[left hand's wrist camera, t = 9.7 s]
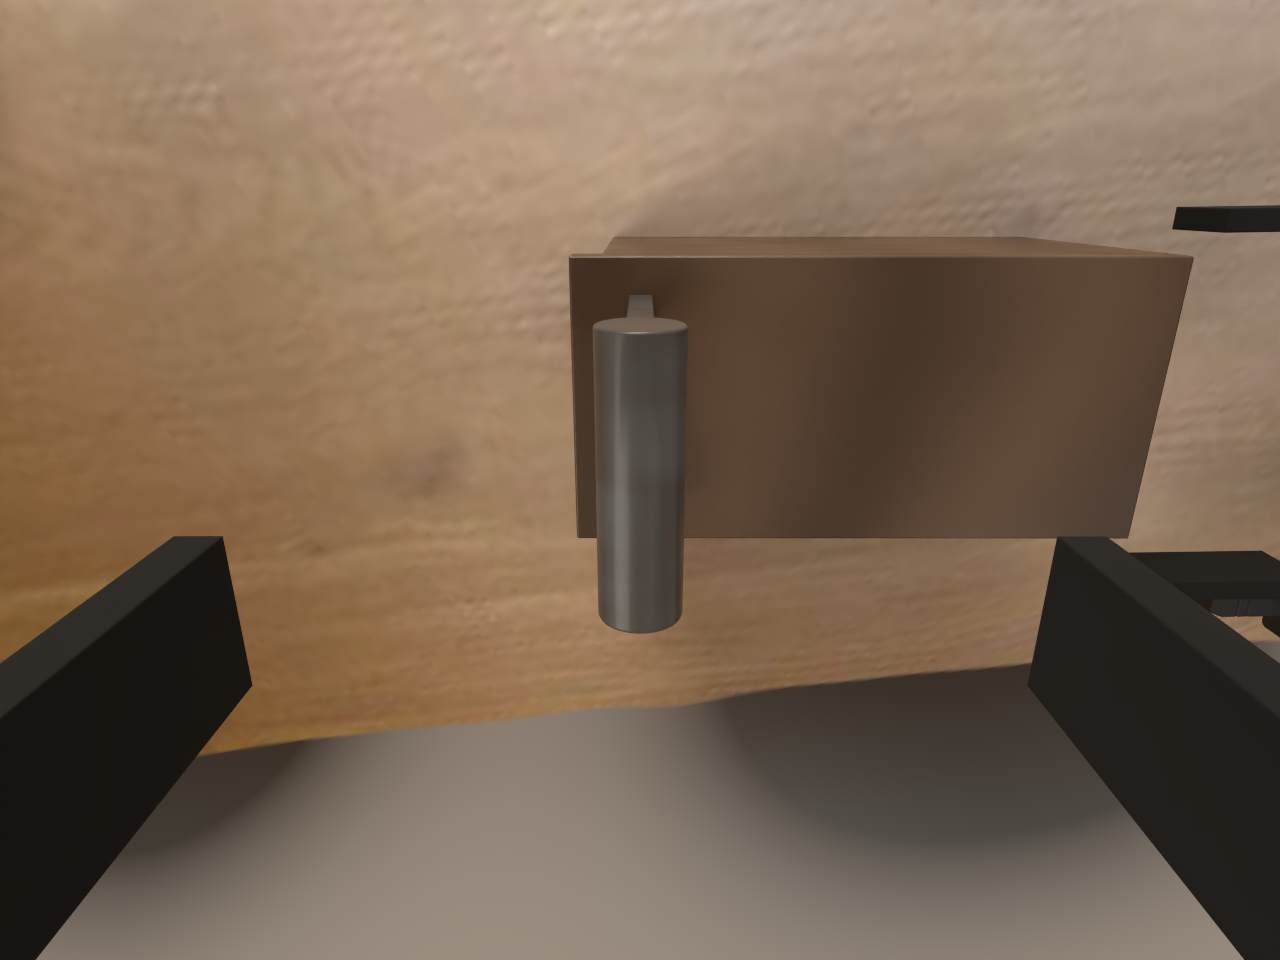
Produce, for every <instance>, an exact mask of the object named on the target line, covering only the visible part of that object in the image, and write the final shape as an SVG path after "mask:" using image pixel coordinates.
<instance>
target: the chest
mask: <svg viewBox="0 0 1280 960" xmlns="http://www.w3.org/2000/svg"><path fill="white" fill-rule="evenodd" d="M603 254H1168V253H1159V252H1150V251H1141V250H1132V249H1123V248H1114V247H1105V246H1096V245H1087V244H1078V243H1069V242H1060V241H1051V240H1042V239H1033V238H1024V237H614V238H613V239H612V240H611V242H610V244H609V245H608V247H607V248H606V250H605V251H604V253H603Z"/></svg>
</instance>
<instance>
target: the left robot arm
mask: <svg viewBox="0 0 1280 960" xmlns="http://www.w3.org/2000/svg"><path fill="white" fill-rule="evenodd" d="M251 686H252V681H251V676H250V671H249V666H248V661H247V656H246V651H245V646H244V641H243V636H242V631H241V626H240V621H239V616H238V611H237V606H236V601H235V596H234V591H233V586H232V581H231V576H230V571H229V566H228V561H227V556H226V551H225V546H224V541H223V536H174V537H172V538H171V539H170V540H168V541H167V542H166V543H164V544H163V545H161V546H160V547H159V548H157V549H156V550H155V551H153V552H152V553H151V554H149V555H148V556H146V557H145V558H144V559H142V560H141V561H140V562H138V563H137V564H136V565H134V566H133V567H131V568H130V569H129V570H127V571H126V572H125V573H123V574H122V575H121V576H119V577H118V578H116V579H115V580H114V581H112V582H111V583H110V584H108V585H107V586H106V587H104V588H103V589H101V590H100V591H99V592H97V593H96V594H95V595H93V596H92V597H90V598H89V599H88V600H86V601H85V602H84V603H82V604H81V605H80V606H78V607H77V608H75V609H74V610H73V611H71V612H70V613H69V614H67V615H66V616H65V617H63V618H62V619H60V620H59V621H58V622H56V623H55V624H54V625H52V626H51V627H50V628H48V629H47V630H45V631H44V632H43V633H41V634H40V635H39V636H37V637H36V638H35V639H33V640H32V641H30V642H29V643H28V644H26V645H25V646H24V647H22V648H21V649H20V650H18V651H17V652H15V653H14V654H13V655H11V656H10V657H9V658H7V659H6V660H5V661H3V662H2V663H0V960H36V959H37V957H38V956H39V955H40V953H41V952H42V951H43V950H44V948H45V947H46V946H47V945H48V943H49V942H50V941H51V940H52V938H53V937H54V936H55V934H56V933H57V932H58V931H59V929H60V928H61V927H62V926H63V924H64V923H65V922H66V921H67V919H68V918H69V917H70V916H71V914H72V913H73V912H74V910H75V909H76V908H77V907H78V905H79V904H80V903H81V902H82V900H83V899H84V898H85V896H86V895H87V894H88V893H89V891H90V890H91V889H92V888H93V886H94V885H95V884H96V883H97V881H98V880H99V879H100V878H101V876H102V875H103V874H104V873H105V871H106V870H107V869H108V867H109V866H110V865H111V864H112V862H113V861H114V860H115V859H116V857H117V856H118V855H119V853H120V852H121V851H122V850H123V848H124V847H125V846H126V845H127V843H128V842H129V841H130V840H131V838H132V837H133V836H134V835H135V833H136V832H137V831H138V829H139V828H140V827H141V826H142V824H143V823H144V822H145V821H146V819H147V818H148V817H149V816H150V814H151V813H152V812H153V811H154V809H155V808H156V807H157V805H158V804H159V803H160V802H161V800H162V799H163V798H164V797H165V795H166V794H167V793H168V791H169V790H170V789H171V788H172V786H173V785H174V784H175V783H176V781H177V780H178V779H179V778H180V776H181V775H182V774H183V772H184V771H185V770H186V769H187V767H188V766H189V765H190V764H191V762H192V761H193V760H194V759H195V757H196V756H197V755H198V754H199V752H200V751H201V750H202V748H203V747H204V746H205V745H206V743H207V742H208V741H209V740H210V738H211V737H212V736H213V735H214V733H215V732H216V731H217V730H218V728H219V727H220V726H221V724H222V723H223V722H224V721H225V719H226V718H227V717H228V716H229V714H230V713H231V712H232V711H233V709H234V708H235V707H236V705H237V704H238V703H239V702H240V700H241V699H242V698H243V697H244V695H245V694H246V693H247V692H248V690H249V689H250V688H251ZM1028 686H1029V688H1030V689H1031V690H1032V692H1033V693H1034V694H1035V695H1036V697H1037V698H1038V699H1039V700H1040V702H1041V703H1042V704H1043V705H1044V707H1045V708H1046V709H1047V711H1048V712H1049V713H1050V714H1051V716H1052V717H1053V718H1054V719H1055V721H1056V722H1057V723H1058V724H1059V726H1060V727H1061V728H1062V729H1063V731H1064V732H1065V733H1066V735H1067V736H1068V737H1069V738H1070V740H1071V741H1072V742H1073V743H1074V745H1075V746H1076V747H1077V748H1078V750H1079V751H1080V752H1081V754H1082V755H1083V756H1084V757H1085V759H1086V760H1087V761H1088V762H1089V764H1090V765H1091V766H1092V767H1093V769H1094V770H1095V771H1096V773H1097V774H1098V775H1099V776H1100V778H1101V779H1102V780H1103V781H1104V783H1105V784H1106V785H1107V786H1108V788H1109V789H1110V790H1111V791H1112V793H1113V794H1114V795H1115V797H1116V798H1117V799H1118V800H1119V802H1120V803H1121V804H1122V805H1123V807H1124V808H1125V809H1126V811H1127V812H1128V813H1129V814H1130V816H1131V817H1132V818H1133V819H1134V821H1135V822H1136V823H1137V824H1138V826H1139V827H1140V828H1141V829H1142V831H1143V832H1144V833H1145V835H1146V836H1147V837H1148V838H1149V840H1150V841H1151V842H1152V843H1153V845H1154V846H1155V847H1156V848H1157V850H1158V851H1159V852H1160V853H1161V855H1162V856H1163V857H1164V859H1165V860H1166V861H1167V862H1168V864H1169V865H1170V866H1171V867H1172V869H1173V870H1174V871H1175V873H1176V874H1177V875H1178V876H1179V878H1180V879H1181V880H1182V881H1183V883H1184V884H1185V885H1186V886H1187V888H1188V889H1189V890H1190V891H1191V893H1192V894H1193V895H1194V897H1195V898H1196V899H1197V900H1198V902H1199V903H1200V904H1201V905H1202V907H1203V908H1204V909H1205V910H1206V912H1207V913H1208V914H1209V916H1210V917H1211V918H1212V919H1213V921H1214V922H1215V923H1216V924H1217V926H1218V927H1219V928H1220V929H1221V931H1222V932H1223V933H1224V934H1225V936H1226V937H1227V938H1228V940H1229V941H1230V942H1231V943H1232V945H1233V946H1234V947H1235V948H1236V950H1237V951H1238V952H1239V953H1240V955H1241V956H1242V957H1243V959H1244V960H1280V663H1278V662H1277V661H1275V660H1274V659H1273V658H1271V657H1270V656H1269V655H1267V654H1266V653H1264V652H1263V651H1262V650H1260V649H1259V648H1258V647H1256V646H1255V645H1254V644H1252V643H1251V642H1250V641H1248V640H1247V639H1245V638H1244V637H1243V636H1241V635H1240V634H1239V633H1237V632H1236V631H1235V630H1233V629H1232V628H1230V627H1229V626H1228V625H1226V624H1225V623H1224V622H1222V621H1221V620H1220V619H1218V618H1217V617H1215V616H1214V615H1213V614H1211V613H1210V612H1209V611H1207V610H1206V609H1205V608H1203V607H1202V606H1200V605H1199V604H1198V603H1196V602H1195V601H1194V600H1192V599H1191V598H1190V597H1188V596H1187V595H1185V594H1184V593H1183V592H1181V591H1180V590H1179V589H1177V588H1176V587H1174V586H1173V585H1172V584H1170V583H1169V582H1168V581H1166V580H1165V579H1164V578H1162V577H1161V576H1159V575H1158V574H1157V573H1155V572H1154V571H1153V570H1151V569H1150V568H1149V567H1147V566H1146V565H1144V564H1143V563H1142V562H1140V561H1139V560H1138V559H1136V558H1135V557H1134V556H1132V555H1131V554H1129V553H1128V552H1127V551H1125V550H1124V549H1123V548H1121V547H1120V546H1119V545H1117V544H1116V543H1114V542H1113V541H1112V540H1110V539H1109V538H1108V537H1106V536H1057V541H1056V546H1055V551H1054V556H1053V561H1052V566H1051V571H1050V576H1049V581H1048V586H1047V591H1046V596H1045V601H1044V606H1043V611H1042V616H1041V621H1040V626H1039V631H1038V636H1037V641H1036V646H1035V651H1034V656H1033V661H1032V666H1031V671H1030V676H1029V681H1028Z"/></svg>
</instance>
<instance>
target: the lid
mask: <svg viewBox="0 0 1280 960" xmlns="http://www.w3.org/2000/svg"><path fill="white" fill-rule="evenodd" d="M1192 263H1193V257H1192V256H1186V255H1177V254H572V255H571V256H570V257H569V282H570V316H571V349H572V382H573V415H574V449H575V482H576V515H577V537H578V538H597V561H598V610H599V616H600V617H601V619H602V621H603V622H604V623H605V624H607V625H608V626H610V627H612V628H614V629H616V630H619V631H623V632H628V633H653V632H658V631H662V630H664V629H667V628H669V627H671V626H673V625H674V624H675V623H677V621H678V620H679V619H680V617H681V615H682V598H683V550H684V538H1057V536H1106V537H1108V538H1128V536H1129V532H1130V527H1131V523H1132V519H1133V515H1134V510H1135V506H1136V502H1137V497H1138V493H1139V489H1140V485H1141V480H1142V476H1143V472H1144V468H1145V463H1146V459H1147V455H1148V450H1149V446H1150V442H1151V438H1152V433H1153V429H1154V425H1155V421H1156V416H1157V412H1158V408H1159V404H1160V399H1161V395H1162V391H1163V386H1164V382H1165V378H1166V374H1167V369H1168V365H1169V361H1170V357H1171V352H1172V348H1173V344H1174V340H1175V335H1176V331H1177V327H1178V322H1179V318H1180V314H1181V310H1182V305H1183V301H1184V297H1185V293H1186V288H1187V284H1188V280H1189V275H1190V271H1191V267H1192Z"/></svg>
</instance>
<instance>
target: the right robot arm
mask: <svg viewBox="0 0 1280 960" xmlns="http://www.w3.org/2000/svg"><path fill="white" fill-rule="evenodd" d="M1172 229H1177V230H1192V231H1208V232H1223V233H1233V232H1280V205H1275V206H1215V207H1177V209H1176V214H1175V218H1174V223H1173V228H1172ZM1129 554H1131V555H1132V556H1134V557H1135V558H1136V559H1138V560H1139V561H1140V562H1142V563H1143V564H1144V565H1146V566H1147V567H1149V568H1150V569H1151V570H1153V571H1154V572H1155V573H1157V574H1158V575H1159V576H1161V577H1162V578H1164V579H1165V580H1166V581H1168V582H1169V583H1170V584H1172V585H1173V586H1174V587H1176V588H1177V589H1179V590H1180V591H1181V592H1183V593H1184V594H1185V595H1187V596H1188V597H1190V598H1191V599H1192V600H1194V601H1195V602H1196V603H1198V604H1199V605H1201V606H1202V607H1203V608H1205V609H1206V610H1207V611H1209V612H1210V613H1213V614H1215V615H1218V616H1221V617H1235V616H1237V617H1240V616H1263V618H1262V623H1263V625H1264V627H1266V628H1267V629H1269V630H1270V631H1271V632H1273V633H1274V634H1276V635H1277V636H1278V637H1280V561H1279V560H1277V559H1275V558H1273V557H1272V556H1270V555H1268V554H1266V553H1265V552H1263V551H1214V552H1143V553H1129Z"/></svg>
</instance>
